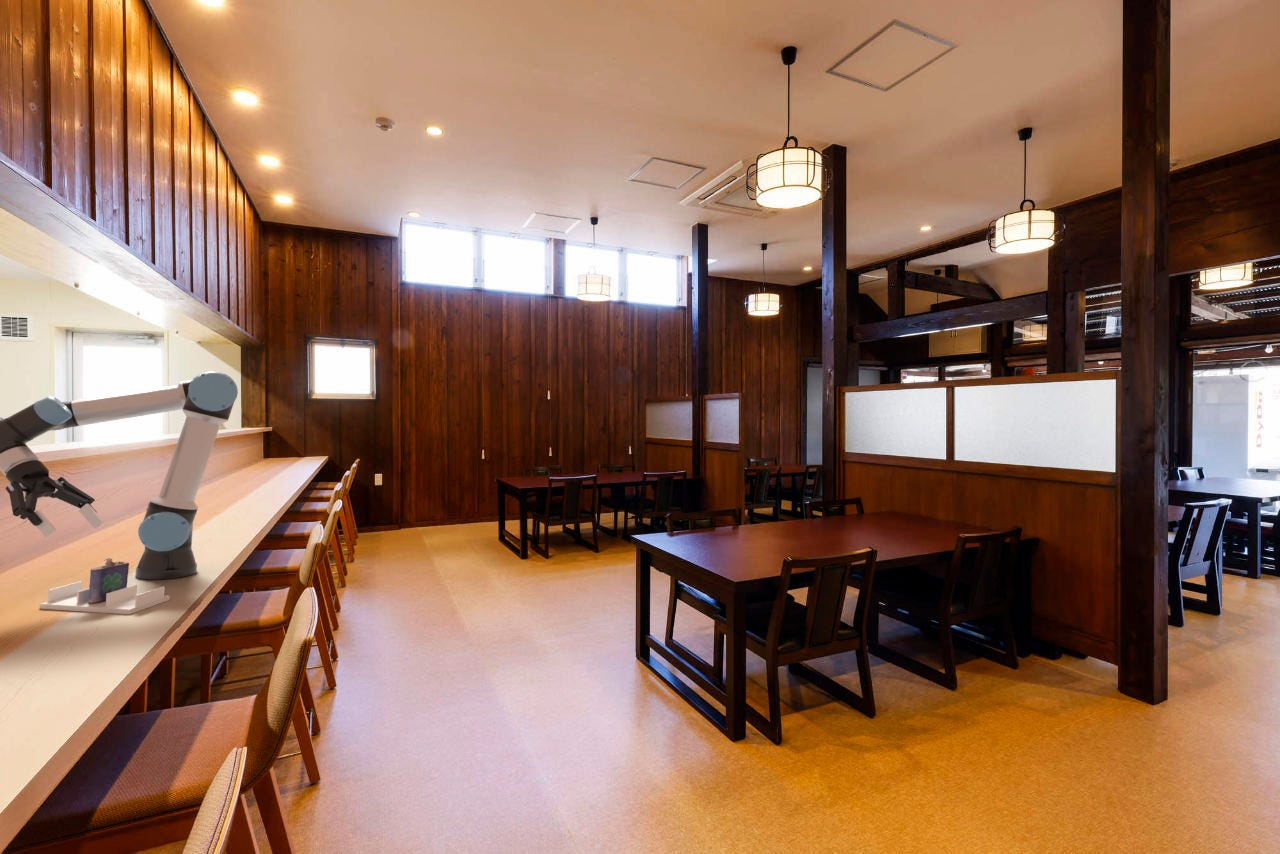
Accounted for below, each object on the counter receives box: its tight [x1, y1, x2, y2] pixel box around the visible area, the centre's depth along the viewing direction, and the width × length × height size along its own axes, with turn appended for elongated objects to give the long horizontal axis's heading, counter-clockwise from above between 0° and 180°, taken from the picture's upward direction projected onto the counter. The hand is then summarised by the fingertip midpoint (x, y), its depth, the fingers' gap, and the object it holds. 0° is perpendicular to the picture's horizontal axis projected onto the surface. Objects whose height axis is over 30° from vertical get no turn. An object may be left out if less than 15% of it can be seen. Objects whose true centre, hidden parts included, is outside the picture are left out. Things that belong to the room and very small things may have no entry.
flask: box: [88, 557, 130, 604], centre depth 159 cm, size 9×3×11 cm, turn 170°
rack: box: [39, 580, 171, 615], centre depth 159 cm, size 13×23×4 cm, turn 90°
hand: (76, 529), depth 159 cm, fingers open, 13 cm apart
